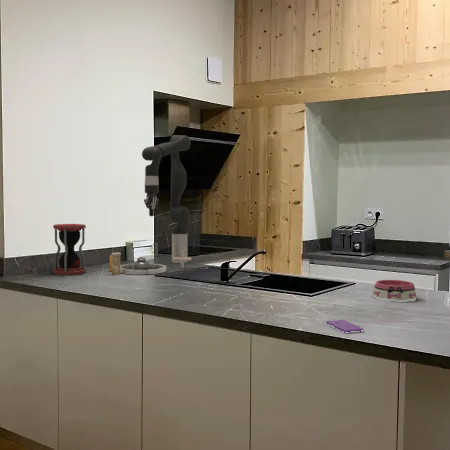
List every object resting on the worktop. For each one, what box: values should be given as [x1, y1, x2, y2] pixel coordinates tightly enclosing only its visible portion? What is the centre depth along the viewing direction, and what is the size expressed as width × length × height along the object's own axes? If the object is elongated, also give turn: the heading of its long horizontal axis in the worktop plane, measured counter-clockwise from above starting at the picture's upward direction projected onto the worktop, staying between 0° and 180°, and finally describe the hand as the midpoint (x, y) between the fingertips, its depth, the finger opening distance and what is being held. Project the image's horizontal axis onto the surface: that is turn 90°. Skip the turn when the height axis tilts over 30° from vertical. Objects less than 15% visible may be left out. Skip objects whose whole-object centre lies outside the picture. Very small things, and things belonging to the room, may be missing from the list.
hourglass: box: [52, 223, 87, 276], centre depth 296 cm, size 16×16×25 cm
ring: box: [109, 254, 167, 275], centre depth 305 cm, size 26×30×8 cm
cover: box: [133, 256, 150, 270], centre depth 305 cm, size 8×8×8 cm
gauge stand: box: [111, 252, 122, 276], centre depth 293 cm, size 4×4×11 cm
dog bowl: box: [372, 279, 418, 300], centre depth 241 cm, size 18×19×7 cm
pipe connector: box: [173, 250, 192, 269], centre depth 318 cm, size 10×10×10 cm
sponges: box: [325, 318, 364, 332], centre depth 189 cm, size 7×13×2 cm, turn 18°
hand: (151, 216), depth 313 cm, fingers closed
